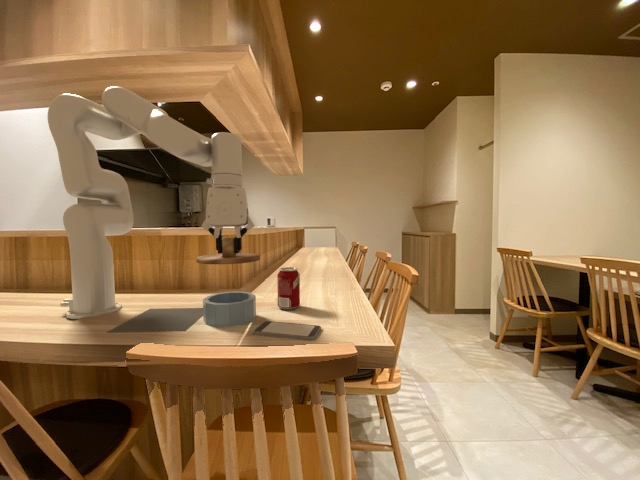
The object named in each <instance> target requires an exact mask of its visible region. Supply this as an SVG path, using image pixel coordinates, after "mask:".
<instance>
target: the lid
mask: <svg viewBox="0 0 640 480" xmlns="http://www.w3.org/2000/svg"><path fill="white" fill-rule="evenodd" d="M234 239H235V236H225V237H223V236H222V253H220V254H218V253H216V254H215V253H214V254H206V255H205V254H204V255H201V256H200V255H199V256H197V257H196V259H195V260H196V261H195V262H196V263H197V264H201V265H236V264H237V265H238V264H246V263H253V262H258V261H260V260H261V255H260V254H258V253H246V252H239V253H234Z"/></svg>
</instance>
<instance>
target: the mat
mask: <svg viewBox="0 0 640 480" xmlns="http://www.w3.org/2000/svg"><path fill="white" fill-rule="evenodd" d="M201 318H203V307H173V308H171V307H170V308H164V307H163V308H162V307H161V308H160V307H158V308H149V309H147V310H145V311H143V312H141V313H139V314H137V315H135V316H134V317H132V318H130V319H128V320H126V321H125V322H123V323H120V324H119V325H117V326H115V327H113V328H111V329H110V330H108V331H106V332H105V333H107V334H108V333H109V334H110V333H152V332H154V333H157V332H160V333H161V332H187V330H188V329H190V328H191V327H192V326H193V325H194V324H195V323H196V322H198V321H199V320H200V319H201Z"/></svg>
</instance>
